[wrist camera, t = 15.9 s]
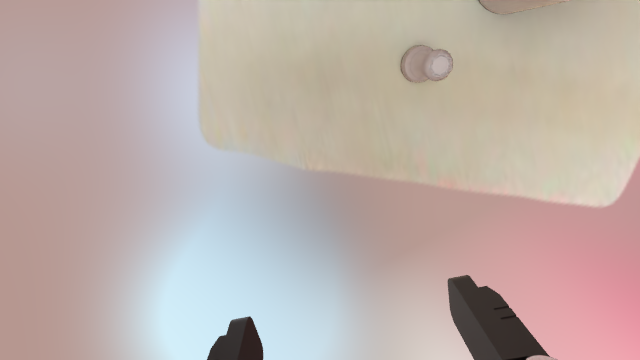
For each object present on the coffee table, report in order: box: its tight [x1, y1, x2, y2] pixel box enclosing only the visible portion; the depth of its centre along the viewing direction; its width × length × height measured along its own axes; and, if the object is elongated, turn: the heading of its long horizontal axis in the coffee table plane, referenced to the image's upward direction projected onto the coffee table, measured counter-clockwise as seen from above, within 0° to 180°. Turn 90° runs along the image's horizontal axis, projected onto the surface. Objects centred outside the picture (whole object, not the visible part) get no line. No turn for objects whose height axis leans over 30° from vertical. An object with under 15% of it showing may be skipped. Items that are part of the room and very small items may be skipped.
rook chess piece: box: [401, 45, 453, 82], centre depth 37 cm, size 4×4×8 cm
